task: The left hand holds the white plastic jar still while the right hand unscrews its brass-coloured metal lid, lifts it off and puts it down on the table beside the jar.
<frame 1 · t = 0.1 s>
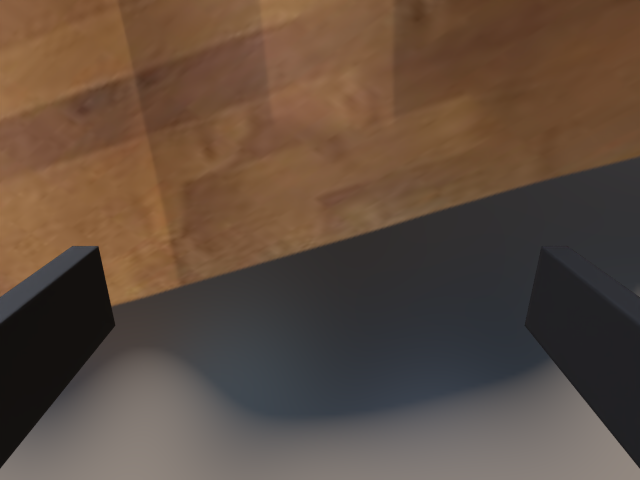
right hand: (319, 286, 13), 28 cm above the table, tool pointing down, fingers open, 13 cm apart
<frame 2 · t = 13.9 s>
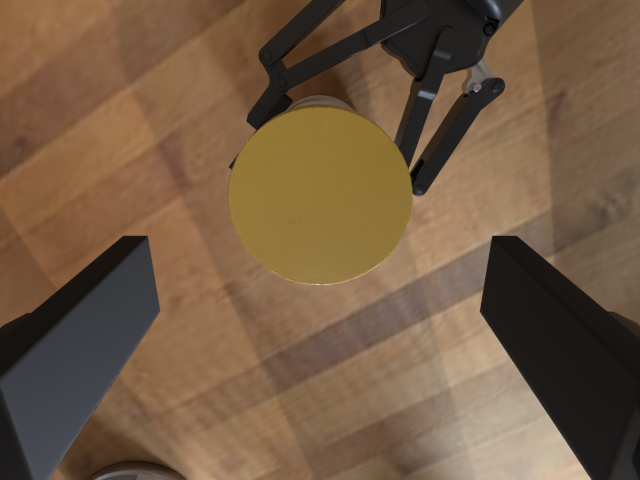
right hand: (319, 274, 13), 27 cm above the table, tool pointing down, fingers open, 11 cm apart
left hand: (282, 202, 33), fingers closed on jar, 8 cm apart
lid: (320, 201, 21), point 18 cm above the table, screwed on, not yet turned
jar: (320, 143, 38), on the table, touching left hand
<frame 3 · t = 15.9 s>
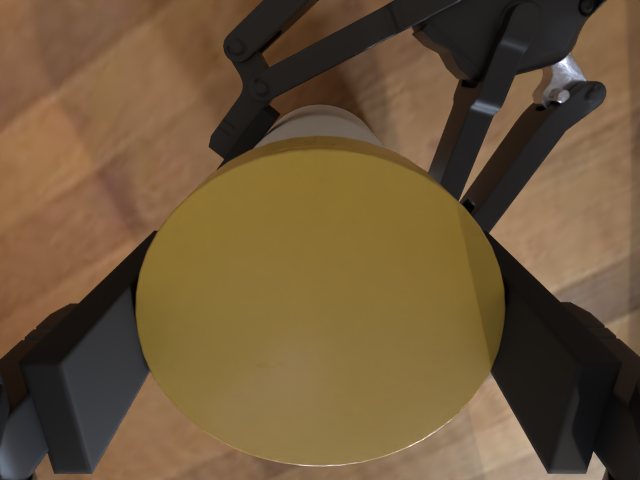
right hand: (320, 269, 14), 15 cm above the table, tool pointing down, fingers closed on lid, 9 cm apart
left hand: (265, 260, 23), fingers closed on jar, 8 cm apart
lid: (320, 325, 11), point 18 cm above the table, screwed on, not yet turned, touching right hand
jar: (320, 169, 28), on the table, touching left hand
when the right hand's fingers open (0 cm above the table, at t = 26.3 s): lid drops 2 cm, point 2 cm above the table.
when the left hand's fingers open (6 cm above the table, at t = 27.4 s): jar stays where it is, on the table.
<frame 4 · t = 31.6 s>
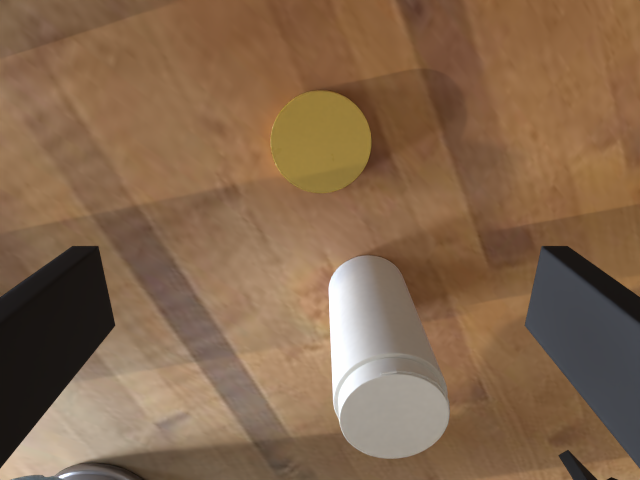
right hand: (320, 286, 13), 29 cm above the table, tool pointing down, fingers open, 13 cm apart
lid: (320, 143, 38), point 2 cm above the table, off its thread
jar: (366, 289, 46), on the table
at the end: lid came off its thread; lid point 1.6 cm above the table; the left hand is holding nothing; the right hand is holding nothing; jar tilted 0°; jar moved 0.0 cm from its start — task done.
